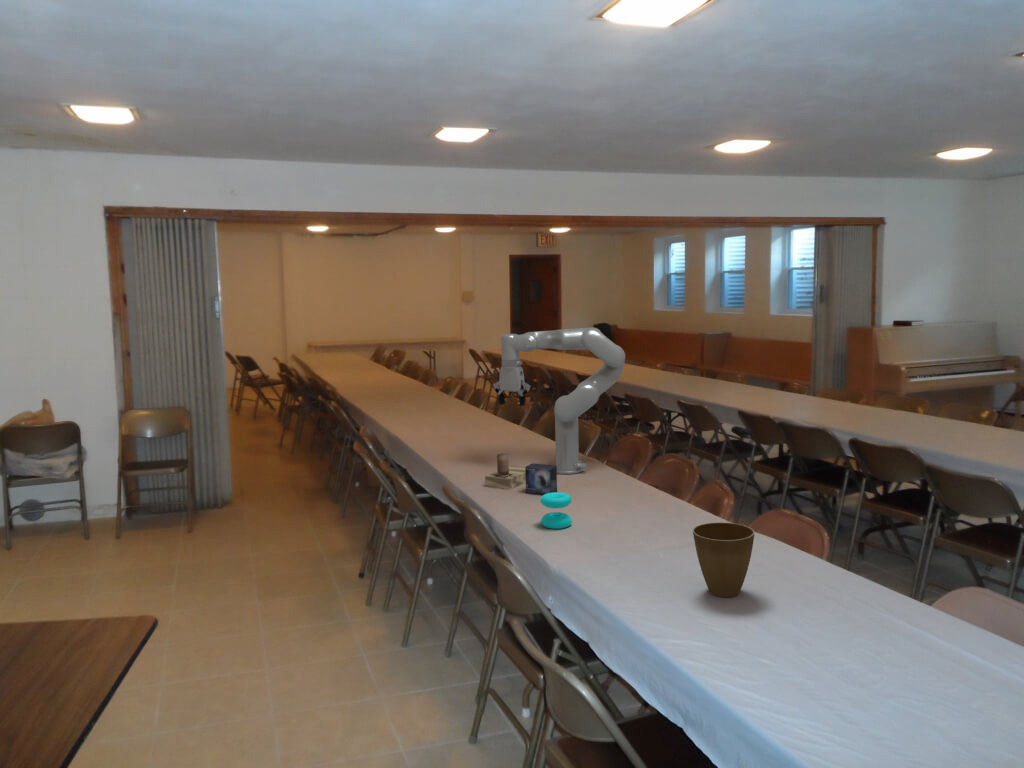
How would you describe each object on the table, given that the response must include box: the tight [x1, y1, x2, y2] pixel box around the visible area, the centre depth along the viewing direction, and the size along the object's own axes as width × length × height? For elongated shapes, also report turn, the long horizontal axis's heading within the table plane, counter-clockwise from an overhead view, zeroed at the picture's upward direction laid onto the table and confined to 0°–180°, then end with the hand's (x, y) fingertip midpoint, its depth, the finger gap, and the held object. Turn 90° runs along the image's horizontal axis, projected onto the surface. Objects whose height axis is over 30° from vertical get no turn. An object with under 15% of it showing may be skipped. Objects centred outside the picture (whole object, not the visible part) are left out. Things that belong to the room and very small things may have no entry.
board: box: [484, 465, 526, 490], centre depth 320 cm, size 20×11×4 cm, turn 149°
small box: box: [525, 462, 558, 496], centre depth 302 cm, size 11×6×10 cm, turn 62°
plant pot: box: [692, 521, 755, 598], centre depth 202 cm, size 15×15×16 cm
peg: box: [496, 453, 510, 478], centre depth 314 cm, size 4×4×12 cm
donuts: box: [540, 491, 573, 530], centre depth 261 cm, size 10×10×10 cm
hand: (512, 404), depth 334 cm, fingers open, 9 cm apart
